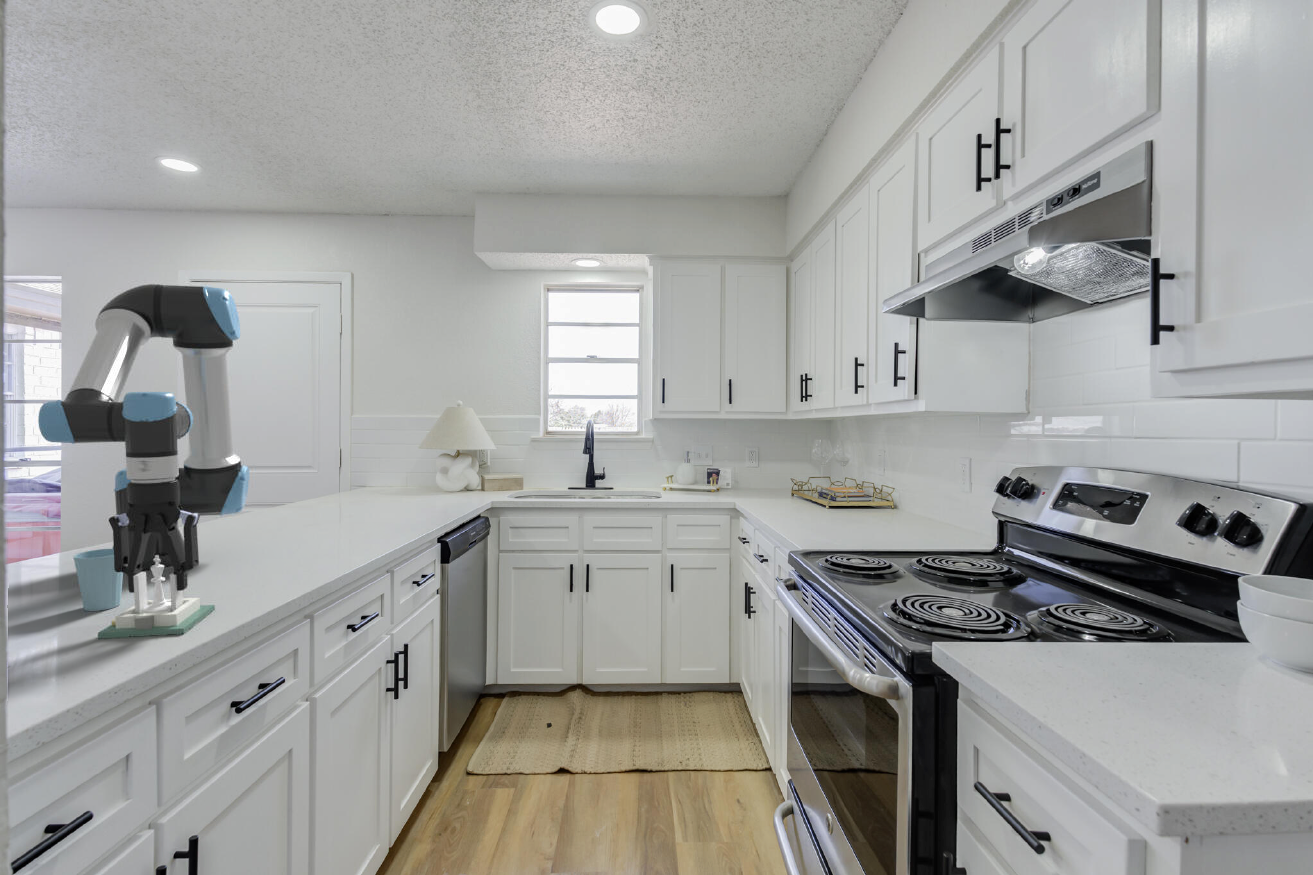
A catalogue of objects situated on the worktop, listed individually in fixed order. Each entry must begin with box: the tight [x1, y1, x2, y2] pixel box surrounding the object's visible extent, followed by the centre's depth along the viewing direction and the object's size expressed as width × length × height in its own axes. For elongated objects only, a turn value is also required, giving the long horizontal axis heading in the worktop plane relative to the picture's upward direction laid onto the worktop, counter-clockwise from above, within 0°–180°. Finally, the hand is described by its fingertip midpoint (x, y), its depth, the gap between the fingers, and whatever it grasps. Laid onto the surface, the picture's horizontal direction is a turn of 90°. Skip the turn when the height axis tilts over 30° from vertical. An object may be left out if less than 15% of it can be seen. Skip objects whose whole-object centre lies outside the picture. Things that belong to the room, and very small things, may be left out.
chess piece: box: [143, 555, 171, 614], centre depth 127 cm, size 5×5×10 cm
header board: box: [97, 597, 216, 639], centre depth 127 cm, size 13×13×3 cm
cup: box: [73, 548, 124, 612], centre depth 136 cm, size 8×8×10 cm
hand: (159, 608), depth 127 cm, fingers open, 5 cm apart
